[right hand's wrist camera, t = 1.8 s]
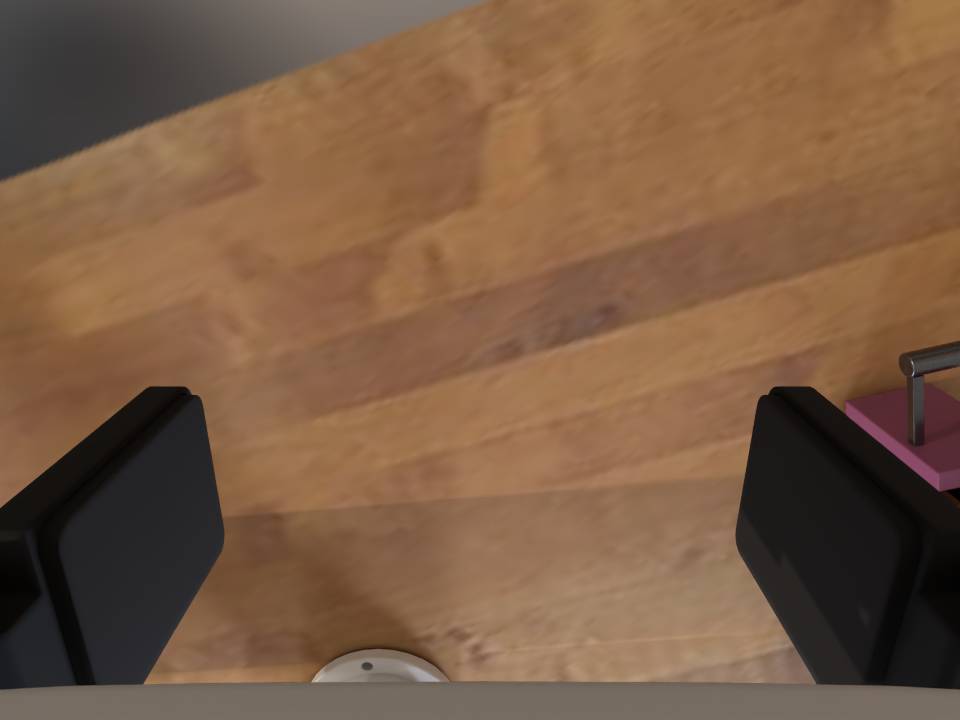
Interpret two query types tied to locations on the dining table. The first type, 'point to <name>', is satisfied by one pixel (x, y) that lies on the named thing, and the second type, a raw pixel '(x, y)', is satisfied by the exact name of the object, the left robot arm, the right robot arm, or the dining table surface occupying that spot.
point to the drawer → (918, 419)
